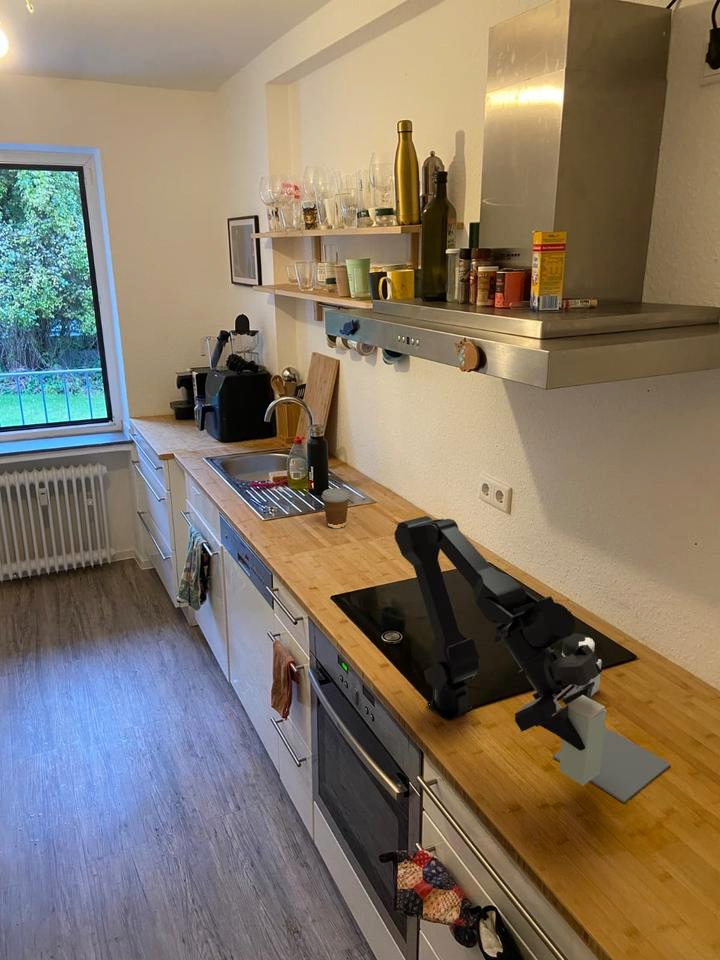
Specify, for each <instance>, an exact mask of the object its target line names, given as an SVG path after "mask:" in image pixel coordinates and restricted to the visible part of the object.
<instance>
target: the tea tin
mask: <svg viewBox="0 0 720 960" xmlns="http://www.w3.org/2000/svg"><path fill="white" fill-rule="evenodd" d="M567 705H568V717H569V719H570V721H571V723H572V724H573V726H574V728H575V729H576V731H577V733H578V734H579V736H580V738H581V740H582V742H583V744H584V746H585V749H584V750H581V751H580V750H578V749H576V748H575V747H574V746H572V745H571V744H569V743H568V742H566V741H565V740H563V739H562V738H561V750H560V751H561V758H560V762H559V772H561V773H562V774H564V775H566V776H567V777H569V778H570V779H571V780H573V781H575V782H576V783H578V784H580V785H581V786H582V787H584V786H585V785H586V784H587V783H589V782H590V780H592V779H593V778H594V777H596V776H597V775H599V774H600V766H601V757H602V747H603V738H604V729H605V726H606V719H607V709H606V707H605V706H604V705H602V704H601V703H599V702H597V701H595V700H593V699H592V698H591V699H590V698H588V697H586V696H584V695H582V696H580V697H578V698H577V699H575V700H573V701H572V702H570V703H568V704H567ZM567 705H566V706H567Z"/></svg>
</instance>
